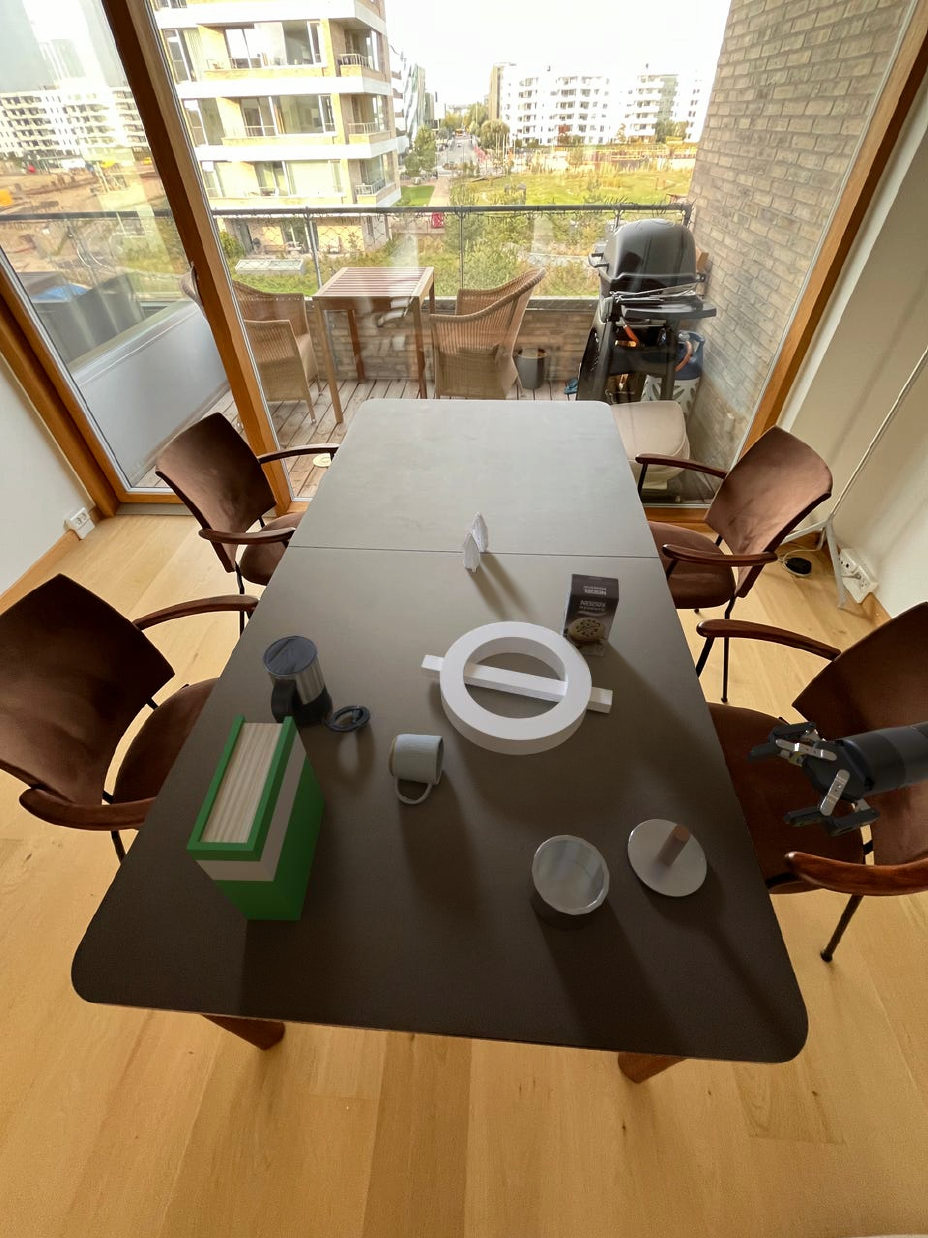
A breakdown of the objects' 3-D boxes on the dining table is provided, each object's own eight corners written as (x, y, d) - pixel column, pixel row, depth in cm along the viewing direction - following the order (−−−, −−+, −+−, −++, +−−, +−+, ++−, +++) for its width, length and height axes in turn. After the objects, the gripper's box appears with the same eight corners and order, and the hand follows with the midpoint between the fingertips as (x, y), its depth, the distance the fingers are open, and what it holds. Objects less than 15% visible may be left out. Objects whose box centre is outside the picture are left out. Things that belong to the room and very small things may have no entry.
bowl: (615, 905, 79) (625, 887, 74) (556, 946, 75) (563, 930, 70) (570, 842, 85) (576, 822, 80) (514, 877, 81) (517, 858, 76)
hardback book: (280, 801, 90) (236, 715, 73) (325, 802, 90) (292, 716, 73) (247, 919, 77) (185, 849, 60) (299, 920, 77) (252, 851, 60)
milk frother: (281, 692, 105) (261, 640, 95) (364, 676, 108) (353, 623, 98) (283, 756, 96) (261, 705, 85) (374, 736, 98) (363, 685, 88)
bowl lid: (720, 873, 82) (743, 847, 75) (664, 915, 78) (682, 891, 71) (665, 809, 89) (681, 781, 82) (610, 845, 85) (622, 818, 78)
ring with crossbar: (618, 711, 102) (623, 696, 99) (491, 782, 92) (492, 767, 89) (530, 619, 119) (532, 603, 116) (415, 670, 109) (413, 655, 106)
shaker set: (475, 540, 139) (476, 502, 131) (491, 543, 138) (492, 506, 130) (459, 569, 131) (458, 531, 124) (475, 572, 130) (476, 534, 123)
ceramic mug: (399, 747, 97) (394, 723, 91) (445, 752, 96) (443, 728, 91) (385, 804, 90) (380, 781, 84) (435, 810, 89) (433, 787, 83)
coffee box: (558, 652, 113) (569, 594, 101) (560, 630, 117) (570, 572, 106) (604, 658, 111) (619, 599, 100) (603, 635, 116) (618, 577, 105)
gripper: (859, 699, 74) (746, 725, 73) (940, 799, 65) (812, 830, 64) (835, 728, 80) (730, 752, 79) (907, 823, 70) (788, 852, 69)
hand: (767, 787), depth 71 cm, fingers open, 8 cm apart
